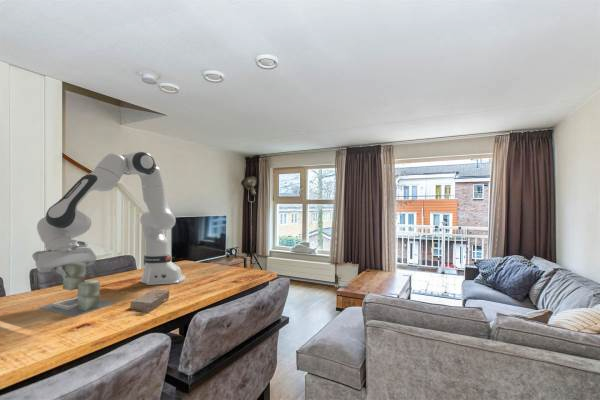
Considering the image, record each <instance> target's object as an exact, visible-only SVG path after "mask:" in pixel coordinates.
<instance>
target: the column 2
mask: <svg viewBox="0 0 600 400" xmlns="http://www.w3.org/2000/svg"><path fill="white" fill-rule="evenodd" d="M100 288H101V281H100V280H94V279H91V280H90V279H89V280H85V282H80V283H78V289H77V297H78V301H77V309H81V310H85V311H86V310H89V309H93V308H96V307H99V300H100Z"/></svg>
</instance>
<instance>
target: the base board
mask: <svg viewBox="0 0 600 400" xmlns="http://www.w3.org/2000/svg"><path fill="white" fill-rule="evenodd" d="M77 301H78V296H75V297H72V298H69V299H65V300H62V301H61V300H60V301H57V302H53V303H50V304H49V303H48V304H46V305H42V306H39V307H37V308H38V309H41V310H44V311H49V312H54V313H57V314H61V315H65V316H69V317H71V318H75V317H79V316H81V315H84V314H88V313H91V312H93V311H94V312H95V311H96V310H100V309H103V308H106V307H109V306H112V305H115V304H117V302H113V301H109V300H104V299H99V307H96V308H93V309H89V310H86V311H85V310H81V309H77Z"/></svg>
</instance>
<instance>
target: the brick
mask: <svg viewBox="0 0 600 400" xmlns="http://www.w3.org/2000/svg"><path fill="white" fill-rule="evenodd" d="M169 298H170V290H169V289H151V290H148V291H147V292H146V293H144V294H143V295H140V296H138V297H136V298H134V299H133V300H131V301H130V304H129V305H130V306H129V308H130V310H136V311H135V313H140V314H141V313H142V314H146V313H151V312H152V311H154V310H155V309H156V308H158V307H160V306H161V305H163V304H164V303H165V302H167V301H168V300H169Z"/></svg>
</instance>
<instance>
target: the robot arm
mask: <svg viewBox="0 0 600 400" xmlns="http://www.w3.org/2000/svg"><path fill="white" fill-rule="evenodd" d="M123 175H127V176H129V175H138V176H139V178H140V181H141V189H142V198H143V202H144V204H145V205H146V207H147V209H148V211H145V212H143V213H142V214H141V216H140V219H139V220H140V221H139V222H140V224H141V225H142V228H143V234H144V240H145V242H144V243H145V246H144V247H145V249H144V253H145V254H144V257H143V273H142V277H141V279H140V283H142V284H146V285H148V286H151V285H152V286H153V285H154V286H155V285H169V284H170V285H172V284H180V283H182V282H185V280H186V275H182V270H181V269H182V268H181V267H180V266H178V265H177V264H175V262H172V255H170V254H168V245H169V244H168V243H169V240H168V238H167V236H166V234H165V231H169V230H171V229H173V227H174V226H176V222H177V220H176V216H175V215H174V214H173V213H172V211H171V208H170V205H169V203H168V201H167V196H166V195H167V194H166V190H165V181H164V178H163V173H162V170H161V169H160V167H159V166H157V164H156V162H155V158H154V157H153V156H152V155H151V154H150V153H148V152H146V151H145V152H144V151H138V152H131V153H128V154H123V155H121V154H118V153H115V152H110V153H108V154H107V155H105V156H103V158H102V159H101V160H100V161H99V162H98V164H97V165H96V167H94V169H93V170H92V171H91V172H90V173H88V174H85V175H84V176H82V177H81V178H79V179H78V180H77V182H75V183H74V185H73V186H72V187H71V188H70V189H69V190H68V191H67V192H66V193H65V194H64V195H63V196H62V197H61V198H60V199H59V200H58V201H56V203H54V204H52V205H51V206H50V207H49V208H48V209H47V211H46V214H45V216H44V217H42V218H41V219H39V221H38V222H37V225H36V230H37V233H38V235H39V238H40V241H42V243H44V248H45V250H39V251H38V250H37V251H35V252H34V253H32V259H33V261H35V266H36V269H37V271H38V272H39V273H40V274H41V273H42V274H43V273H49V272H56V274H59V275H60V276H61V277H62V278H66V277H68V276H69V273H68V272H65V271H64V265H66V264H70V263H76V262H82V263H86V265H85V274H86V273H87V270H86V267H87V266H91V265H93V264H94V263H95V262H96V261H97V256H96V254H95V253H94V251H93V249H92V248H91V247H89V244H88V242H87V241H84V240H76V239H74V238H77V237H80V236H82V235H84V234H85V233H86V232H87V231H89V229H90V228H91V225H92V220H91V218H90V217H89V216H87V215H86V214H84V213H83V212H82V211H80V210H79V209H78V206H79V204H80V203H82V201H83V200H84V199H85V198H86V197H87V195H88V194H89V193H90V192H93V191H98V192H108V191H112V190H113V189H114V188H115V187H116V186H117V185H118V183H119V182H120V180H121V178H122V176H123Z"/></svg>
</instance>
